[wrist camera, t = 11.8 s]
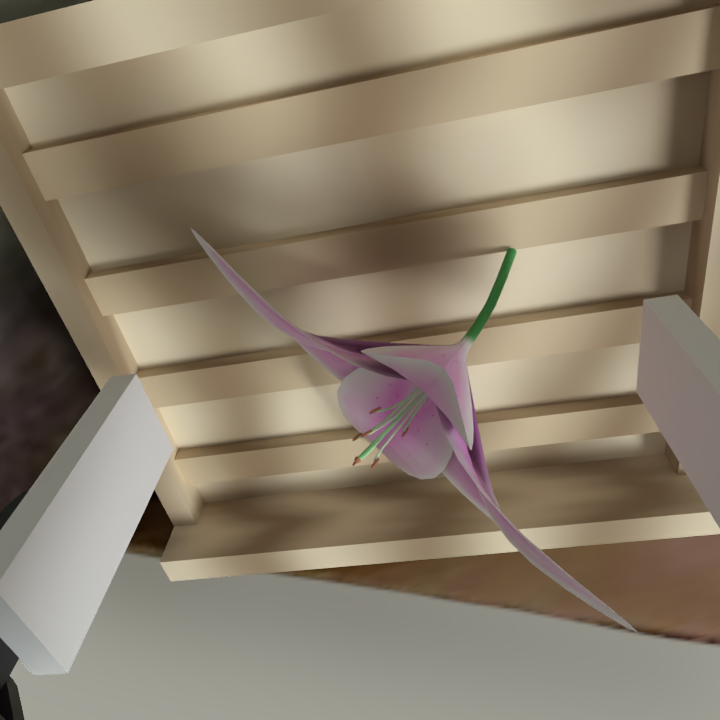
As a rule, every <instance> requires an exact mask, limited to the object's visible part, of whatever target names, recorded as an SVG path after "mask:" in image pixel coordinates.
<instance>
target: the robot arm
mask: <svg viewBox="0 0 720 720" xmlns="http://www.w3.org/2000/svg"><path fill="white" fill-rule="evenodd" d="M636 392H637V394H638V395H639V397H640V398H641V400H642V402H643V403H644V405H645V407H646V408H647V410H648V412H649V413H650V415H651V417H652V418H653V420H654V421H655V423H656V425H657V426H658V428H659V430H660V431H661V433H662V435H663V436H664V438H665V440H666V441H667V443H668V444H669V446H670V448H671V449H672V451H673V453H674V454H675V456H676V458H677V459H678V461H679V463H680V464H681V466H682V467H683V469H684V471H685V472H686V474H687V476H688V477H689V479H690V481H691V482H692V484H693V486H694V487H695V489H696V490H697V492H698V494H699V495H700V497H701V499H702V500H703V502H704V504H705V505H706V507H707V509H708V510H709V512H710V514H711V515H712V517H713V518H714V520H715V522H716V523H717V525H718V527H719V528H720V340H719V339H718V337H717V336H716V335H715V334H714V333H713V332H712V331H711V330H710V329H709V328H708V327H707V326H706V325H705V324H704V322H703V321H702V320H701V319H700V318H699V317H698V316H697V315H696V314H695V313H694V312H693V311H692V310H691V309H690V308H689V306H688V305H687V304H686V303H685V302H684V301H683V300H682V299H681V298H680V297H679V296H678V295H671V296H664V297H657V298H651V299H644V300H643V312H642V325H641V337H640V350H639V363H638V375H637V388H636ZM172 451H173V447H172V445H171V443H170V441H169V439H168V437H167V435H166V433H165V431H164V429H163V427H162V425H161V423H160V421H159V419H158V417H157V415H156V412H155V410H154V408H153V406H152V404H151V402H150V400H149V398H148V396H147V394H146V392H145V390H144V388H143V386H142V384H141V382H140V380H139V378H138V376H137V374H129V375H122V376H116V377H110V379H109V380H108V381H107V383H106V384H105V385H104V387H103V388H102V390H101V391H100V392H99V394H98V395H97V397H96V398H95V399H94V401H93V402H92V404H91V405H90V406H89V408H88V409H87V411H86V412H85V413H84V415H83V416H82V417H81V419H80V420H79V422H78V423H77V424H76V426H75V427H74V429H73V430H72V431H71V433H70V434H69V436H68V437H67V438H66V440H65V441H64V443H63V444H62V445H61V447H60V448H59V449H58V451H57V452H56V454H55V455H54V456H53V458H52V459H51V461H50V462H49V463H48V465H47V466H46V468H45V469H44V470H43V472H42V473H41V475H40V476H39V477H38V479H37V480H36V481H35V483H34V484H33V486H32V487H31V488H30V490H29V491H24V492H22V493H21V494H20V495H19V496H18V497H17V498H15V499H14V500H13V501H12V502H11V503H10V504H9V505H7V506H6V507H5V508H4V509H3V510H2V511H1V513H0V720H24V716H23V711H22V706H21V702H20V697H19V693H18V688H17V685H16V684H15V682H14V680H13V679H12V678H11V677H10V676H9V675H10V674H11V672H12V670H13V668H14V666H15V665H16V662H17V661H18V659H19V660H20V662H21V663H23V665H24V666H25V667H26V668H27V669H28V670H29V671H30V672H31V673H32V674H33V675H47V674H64V673H68V672H69V670H70V668H71V665H72V663H73V661H74V659H75V657H76V655H77V653H78V650H79V648H80V646H81V644H82V642H83V640H84V638H85V636H86V634H87V631H88V629H89V627H90V625H91V623H92V621H93V619H94V616H95V614H96V612H97V610H98V608H99V606H100V604H101V602H102V600H103V597H104V595H105V593H106V591H107V589H108V587H109V585H110V583H111V580H112V578H113V576H114V574H115V572H116V570H117V568H118V566H119V563H120V561H121V559H122V557H123V555H124V553H125V551H126V549H127V546H128V544H129V542H130V540H131V538H132V536H133V534H134V532H135V529H136V527H137V525H138V523H139V521H140V519H141V517H142V515H143V512H144V510H145V508H146V506H147V504H148V502H149V500H150V498H151V495H152V493H153V491H154V489H155V487H156V485H157V483H158V481H159V478H160V476H161V474H162V472H163V470H164V468H165V466H166V464H167V461H168V459H169V457H170V455H171V453H172Z"/></svg>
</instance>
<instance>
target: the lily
mask: <svg viewBox="0 0 720 720" xmlns="http://www.w3.org/2000/svg"><path fill="white" fill-rule="evenodd" d="M190 228H191V227H190ZM191 230H192V232H193V234H194V236H195V237H196V239H197V240H198V242H199V243H200V245H201V246H202V247H203V249H204V250H205V252H206V253H207V255H208V256H209V257H210V259H211V260H212V261H213V262H214V264H215V265H216V266H217V267H218V269H219V270H220V271H221V273H222V274H223V275H224V276H225V278H226V279H227V280H228V282H229V283H230V284H231V285H232V286H233V287H234V288H235V290H236V291H237V292H238V293H239V294H240V295H241V296H242V297H243V298H244V300H245V301H246V302H247V303H248V304H249V305H250V306H251V307H252V309H253V310H255V311H256V312H257V313H258V314H259V315H260V316H262V317H263V318H264V319H265V320H266V321H268V322H269V323H270V324H271V325H272V326H273V327H275V328H276V329H278V330H280V331H281V332H283V333H285V334H286V335H288V336H290V337H292V338H293V339H294V340H295V341H296V342H297V343H298V344H299V345H300V346H301V347H302V348H303V349H304V350H305V351H306V352H307V353H308V354H309V355H310V356H312V357H313V358H314V359H315V360H316V361H317V362H318V363H319V364H320V365H321V366H323V367H324V368H325V369H326V370H327V371H329V372H330V373H331V374H332V375H334V376H335V377H336V378H338V379H339V380H340V381H341V382H342V383H341V385H340V386H339V388H338V390H337V394H338V404H339V406H340V408H341V410H342V413H343V415H344V416H345V417H346V418H347V420H348V421H349V422H350V423H351V425H352V426H353V427H354V428H355V429H356V430H357V431H358V432H359V434H358V435H356V436H355V437H354V438H353V440H352V441H355V440H357V439H358V438H359V439H360V438H363V437H365V438H366V439H367V440H368V441H370V442H371V444H370V445H369V446H368V447H367V448H366V449H365V450H364V451H363V452H362V453H361V454H360V455H359V456H358V457H357V456H356V457H355V459H354V463H353V464H352V465H353V466H355V465H356V464H357V463H360V462H361V460H362V459H363V458H365V457H366V456H367V455H368V454H369V453H370V452H371V451H372V450H373V449H374V448H375V447H376V448H377V449H378V450H379V452H378V453H377V455H376V456H375V458H374V460H373V462H374V463H373V464H372V466H371V469H372V468H374V467H375V466H376V465H377V463H378V462H379V458H378V456H379V455H380V453H383V454H384V455H385V456H386V457H387V458H388V459H389V460H390V461H391V462H392V463H393V464H395V465H396V466H397V467H398V468H400V469H401V470H403V471H404V472H406V473H407V474H409V475H411V476H414V477H416V478H419V479H434V478H435V477H437V476H438V475H439V474H440V473H441V472H442V473H443V475H444V476H445V477H446V478H447V479H448V480H449V481H450V482H451V483H452V484H453V485H454V486H455V487H456V488H457V489H458V490H459V491H460V492H461V493H462V494H463V495H464V496H465V497H466V498H467V499H469V500H470V501H471V502H472V503H473V504H474V505H475V506H476V507H477V508H478V509H480V510H481V511H482V512H483V513H484V514H485V515H487V516H488V517H489V518H490V519H492V520H493V521H494V522H495V523H496V524H497V526H498V527H499V529H500V530H501V531H502V533H503V534H504V535H505V537H506V538H507V540H508V541H509V542H510V543H511V544H512V545H513V546H514V547H515V548H516V549H517V550H518V551H519V552H520V553H521V554H523V555H524V556H525V557H526V558H527V559H528V560H529V561H530V562H531V563H532V564H533V565H534V566H536V567H537V568H538V569H540V570H541V571H542V572H544V573H545V574H546V575H548V576H549V577H550V578H552V579H553V580H554V581H556V582H557V583H558V584H559V585H561V586H562V587H563V588H565V589H566V590H568V591H569V592H571V593H572V594H574V595H575V596H577V597H578V598H580V599H581V600H583V601H584V602H586V603H587V604H589V605H590V606H592V607H593V608H595V609H596V610H598V611H600V612H601V613H603V614H604V615H606V616H608V617H610V618H611V619H613V620H615V621H616V622H618V623H620V624H621V625H623V626H625V627H626V628H629V629H631V630H634V631H636V630H635V629H634V628H633V627H632V626H631V625H630V624H628V623H627V622H626V621H625V620H624V619H623V618H622V617H620V616H619V615H618V614H617V613H616V612H615V611H613V610H612V609H611V608H610V607H609V606H607V605H606V604H605V603H604V602H602V601H601V600H600V599H599V598H597V597H596V596H595V595H594V594H592V593H591V592H590V591H589V590H587V589H586V588H585V587H584V586H583V585H581V584H580V583H579V582H578V581H576V580H575V579H574V578H573V577H571V576H570V575H569V574H568V573H567V572H566V571H564V570H563V569H562V568H561V567H560V566H559V565H557V564H556V563H555V562H554V561H553V560H552V559H550V558H549V557H548V556H547V555H546V554H545V553H544V552H542V551H541V550H540V549H539V548H538V547H537V546H535V545H534V544H533V543H532V542H531V541H530V540H528V539H527V538H526V537H525V536H524V535H523V534H522V533H521V532H520V531H519V530H518V529H517V528H516V527H515V525H514V524H513V523H512V522H511V521H510V520H509V519H508V518H507V517H506V516H505V515H504V514H503V513H502V511H501V509H500V507H499V504H498V502H497V500H496V498H495V496H494V492H493V489H492V485H491V482H490V478H489V475H488V471H487V466H486V462H485V457H484V452H483V448H482V443H481V438H480V433H479V428H478V423H477V417H476V412H475V407H474V402H473V396H472V391H471V386H470V381H469V376H468V370H467V363H466V360H467V354H468V352H469V350H470V347H471V346H472V344H473V343H474V341H475V339H476V338H477V336H478V335H479V333H480V332H481V330H482V329H483V327H484V325H485V324H486V322H487V320H488V318H489V317H490V315H491V313H492V311H493V310H494V308H495V306H496V304H497V301H498V299H499V297H500V294H501V292H502V289H503V287H504V285H505V282H506V280H507V277H508V275H509V272H510V269H511V266H512V264H513V261H514V258H515V255H516V253H517V252H516V250H515V249H514V248H509V249H508V250H507V252H506V255H505V257H504V260H503V262H502V265H501V268H500V270H499V273H498V276H497V278H496V281H495V283H494V285H493V287H492V290H491V292H490V294H489V297H488V299H487V301H486V303H485V305H484V307H483V308H482V310H481V312H480V313H479V315H478V317H477V319H476V320H475V322H474V324H473V325H472V326H471V327H470V329H469V330H468V331H467V333H466V334H465V335H464V337H463V338H462V339H461V340H460V341H459V342H458V343H456V344H453V345H423V344H406V343H390V342H375V341H361V340H350V339H339V338H332V337H326V336H319V335H315V334H312V333H309V332H305V331H302V330H300V329H299V328H298V327H296V326H295V325H294V324H292V323H291V322H290V321H288V320H287V319H286V318H285V317H283V316H282V315H281V314H279V313H278V312H277V311H276V310H275V309H274V308H273V307H272V306H271V305H270V304H269V303H268V302H266V301H265V300H264V299H263V298H262V297H261V296H260V295H259V294H258V293H257V292H256V291H255V290H254V289H253V288H252V287H251V286H250V285H249V284H248V283H247V282H246V281H245V280H243V279H242V278H241V277H240V276H239V275H238V274H237V273H236V272H235V271H234V269H233V268H232V267H231V266H230V265H229V264H228V263H227V262H226V261H225V260H224V259H223V258H222V257H221V256H220V255H219V254H218V253H217V252H216V251H215V250H214V249H213V248H212V247H211V246H210V245H209V244H208V243H207V242H206V241H205V240H204V239H203V238H202V237H201V236H200V235H199V234H198V233H196V232H195V231H194V230H193V229H192V228H191ZM377 458H378V459H377ZM636 632H637V631H636Z"/></svg>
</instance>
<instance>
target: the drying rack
mask: <svg viewBox="0 0 720 720" xmlns="http://www.w3.org/2000/svg"><path fill="white" fill-rule="evenodd" d="M0 206H1V208H2V210H3V211H4V213H5V215H6V217H7V219H8V221H9V222H10V224H11V226H12V228H13V230H14V232H15V234H16V235H17V237H18V239H19V241H20V243H21V245H22V246H23V248H24V250H25V252H26V254H27V256H28V258H29V259H30V261H31V263H32V265H33V267H34V269H35V270H36V272H37V274H38V276H39V278H40V280H41V281H42V283H43V285H44V287H45V289H46V291H47V293H48V294H49V296H50V298H51V300H52V302H53V304H54V305H55V307H56V309H57V311H58V313H59V315H60V317H61V318H62V320H63V322H64V324H65V326H66V328H67V329H68V331H69V333H70V335H71V337H72V339H73V341H74V342H75V344H76V346H77V348H78V350H79V352H80V353H81V355H82V357H83V359H84V361H85V363H86V364H87V366H88V368H89V370H90V372H91V374H92V376H93V377H94V379H95V381H96V383H97V385H98V387H99V388H100V390H102V388H103V387H104V385H105V384H106V383H107V381H108V380H109V379H110V377H116V376H122V375H129V374H137V376H138V378H139V380H140V382H141V384H142V386H143V388H144V390H145V392H146V394H147V396H148V398H149V400H150V402H151V404H152V406H153V408H154V410H155V412H156V415H157V417H158V419H159V421H160V423H161V425H162V427H163V429H164V431H165V433H166V435H167V437H168V439H169V441H170V443H171V445H172V447H173V451H172V453H171V455H170V457H169V459H168V461H167V464H166V466H165V468H164V470H163V472H162V474H161V476H160V478H159V481H158V483H157V485H156V487H155V489H154V490H155V492H156V494H157V495H158V497H159V499H160V501H161V503H162V505H163V507H164V508H165V510H166V512H167V514H168V516H169V518H170V519H171V521H172V523H173V525H174V529H173V531H172V534H171V536H170V539H169V541H168V543H167V546H166V548H165V551H164V553H163V556H162V558H161V561H160V564H161V565H162V567H163V569H164V570H165V572H166V574H167V575H168V577H169V579H170V580H171V581H182V580H193V579H205V578H216V577H228V576H239V575H251V574H263V573H274V572H286V571H297V570H309V569H320V568H332V567H343V566H355V565H366V564H378V563H389V562H401V561H412V560H424V559H436V558H447V557H459V556H470V555H482V554H493V553H505V552H516V551H518V550H517V549H516V548H515V547H514V546H513V545H512V544H511V543H510V542H509V541H508V540H507V538H506V537H505V535H504V534H503V533H502V531H501V530H500V529H499V527H498V526H497V524H496V523H495V522H494V521H493V520H492V519H490V518H489V517H488V516H487V515H485V514H484V513H483V512H482V511H481V510H480V509H478V508H477V507H476V506H475V505H474V504H473V503H472V502H471V501H470V500H469V499H467V498H466V497H465V496H464V495H463V494H462V493H461V492H460V491H459V490H458V489H457V488H456V487H455V486H454V485H453V484H452V483H451V482H450V481H449V480H448V479H447V478H446V477H445V476H444V475H443V473H442V472H441V473H440V474H439V475H438V476H437V477H435V478H434V479H419V478H416V477H414V476H411V475H409V474H407V473H406V472H404V471H403V470H401V469H400V468H398V467H397V466H396V465H395V464H393V463H392V462H391V461H390V460H389V459H388V458H387V457H386V456H385V455H384V454H383V453H380V455H379V456H378V458H379V462H378V463H377V465H376V466H375V467H374V468H372V469H371V466H372V464H373V463H374V462H373V460H374V458H375V456H376V455H377V453H378V452H379V450H378V449H377V448H376V447H375V448H374V449H373V450H372V451H371V452H370V453H369V454H368V455H367V456H366V457H365V458H363V459H362V460H361V462H360V463H357V464H356V465H355V466H353V465H352V464H353V463H354V459H355V457H356V456H357V457H358V456H359V455H360V454H361V453H362V452H363V451H364V450H365V449H366V448H367V447H368V446H369V445H370V444H371V442H370V441H368V440H367V439H366V438H365V437H363V438H360V439H359V438H358V439H357V440H355V441H352V440H353V438H354V437H355V436H356V435H358V434H359V432H358V431H357V430H356V429H355V428H354V427H353V426H352V425H351V423H350V422H349V421H348V420H347V418H346V417H345V416H344V415H343V413H342V410H341V408H340V406H339V404H338V394H337V390H338V388H339V386H340V385H341V383H342V382H341V381H340V380H339V379H338V378H336V377H335V376H334V375H332V374H331V373H330V372H329V371H327V370H326V369H325V368H324V367H323V366H321V365H320V364H319V363H318V362H317V361H316V360H315V359H314V358H313V357H312V356H310V355H309V354H308V353H307V352H306V351H305V350H304V349H303V348H302V347H301V346H300V345H299V344H298V343H297V342H296V341H295V340H294V339H293V338H292V337H290V336H288V335H286V334H285V333H283V332H281V331H280V330H278V329H276V328H275V327H273V326H272V325H271V324H270V323H269V322H268V321H266V320H265V319H264V318H263V317H262V316H260V315H259V314H258V313H257V312H256V311H255V310H253V309H252V307H251V306H250V305H249V304H248V303H247V302H246V301H245V300H244V298H243V297H242V296H241V295H240V294H239V293H238V292H237V291H236V290H235V288H234V287H233V286H232V285H231V284H230V283H229V282H228V280H227V279H226V278H225V276H224V275H223V274H222V273H221V271H220V270H219V269H218V267H217V266H216V265H215V264H214V262H213V261H212V260H211V259H210V257H209V256H208V255H207V253H206V252H205V250H204V249H203V247H202V246H201V245H200V243H199V242H198V240H197V239H196V237H195V236H194V234H193V232H192V230H191V228H192V229H193V230H194V231H195V232H196V233H198V234H199V235H200V236H201V237H202V238H203V239H204V240H205V241H206V242H207V243H208V244H209V245H210V246H211V247H212V248H213V249H214V250H215V251H216V252H217V253H218V254H219V255H220V256H221V257H222V258H223V259H224V260H225V261H226V262H227V263H228V264H229V265H230V266H231V267H232V268H233V269H234V271H235V272H236V273H237V274H238V275H239V276H240V277H241V278H242V279H243V280H245V281H246V282H247V283H248V284H249V285H250V286H251V287H252V288H253V289H254V290H255V291H256V292H257V293H258V294H259V295H260V296H261V297H262V298H263V299H264V300H265V301H266V302H268V303H269V304H270V305H271V306H272V307H273V308H274V309H275V310H276V311H277V312H278V313H279V314H281V315H282V316H283V317H285V318H286V319H287V320H288V321H290V322H291V323H292V324H294V325H295V326H296V327H298V328H299V329H300V330H302V331H305V332H309V333H312V334H315V335H319V336H326V337H332V338H339V339H350V340H361V341H375V342H390V343H406V344H423V345H453V344H456V343H458V342H459V341H460V340H461V339H462V338H463V337H464V335H465V334H466V333H467V331H468V330H469V329H470V327H471V326H472V325H473V324H474V322H475V320H476V319H477V317H478V315H479V313H480V312H481V310H482V308H483V307H484V305H485V303H486V301H487V299H488V297H489V294H490V292H491V290H492V287H493V285H494V283H495V281H496V278H497V276H498V273H499V270H500V268H501V265H502V262H503V260H504V257H505V255H506V252H507V250H508V249H509V248H514V249H515V250H516V252H517V253H516V255H515V258H514V261H513V264H512V266H511V269H510V272H509V275H508V277H507V280H506V282H505V285H504V287H503V289H502V292H501V294H500V297H499V299H498V301H497V304H496V306H495V308H494V310H493V311H492V313H491V315H490V317H489V318H488V320H487V322H486V324H485V325H484V327H483V329H482V330H481V332H480V333H479V335H478V336H477V338H476V339H475V341H474V343H473V344H472V346H471V347H470V350H469V352H468V354H467V360H466V363H467V370H468V376H469V381H470V386H471V391H472V396H473V402H474V407H475V412H476V417H477V423H478V428H479V433H480V438H481V443H482V448H483V452H484V457H485V462H486V466H487V471H488V475H489V478H490V482H491V485H492V489H493V492H494V496H495V498H496V500H497V502H498V504H499V507H500V509H501V511H502V513H503V514H504V515H505V516H506V517H507V518H508V519H509V520H510V521H511V522H512V523H513V524H514V525H515V527H516V528H517V529H518V530H519V531H520V532H521V533H522V534H523V535H524V536H525V537H526V538H527V539H528V540H530V541H531V542H532V543H533V544H534V545H535V546H537V547H538V548H539V549H551V548H562V547H574V546H585V545H597V544H609V543H620V542H632V541H643V540H655V539H666V538H678V537H689V536H701V535H712V534H720V528H719V527H718V525H717V523H716V522H715V520H714V518H713V517H712V515H711V514H710V512H709V510H708V509H707V507H706V505H705V504H704V502H703V500H702V499H701V497H700V495H699V494H698V492H697V490H696V489H695V487H694V486H693V484H692V482H691V481H690V479H689V477H688V476H687V474H686V472H685V471H684V469H683V467H682V466H681V464H680V463H679V461H678V459H677V458H676V456H675V454H674V453H673V451H672V449H671V448H670V446H669V444H668V443H667V441H666V440H665V438H664V436H663V435H662V433H661V431H660V430H659V428H658V426H657V425H656V423H655V421H654V420H653V418H652V417H651V415H650V413H649V412H648V410H647V408H646V407H645V405H644V403H643V402H642V400H641V398H640V397H639V395H638V394H637V392H636V388H637V375H638V363H639V350H640V337H641V325H642V312H643V300H644V299H651V298H657V297H664V296H671V295H678V296H679V297H680V298H681V299H682V300H683V301H684V302H685V303H686V304H687V305H688V306H689V308H690V309H691V310H692V311H693V312H694V313H695V314H696V315H697V316H698V317H699V318H700V319H701V320H702V321H703V322H704V324H705V325H706V326H707V327H708V328H709V329H710V330H711V331H712V332H713V333H714V334H715V335H716V336H717V337H718V339H719V340H720V0H93V1H89V2H85V3H81V4H77V5H73V6H69V7H65V8H61V9H57V10H53V11H49V12H45V13H41V14H37V15H33V16H29V17H25V18H21V19H17V20H13V21H9V22H5V23H1V24H0ZM190 227H191V228H190ZM378 458H377V459H378Z"/></svg>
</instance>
